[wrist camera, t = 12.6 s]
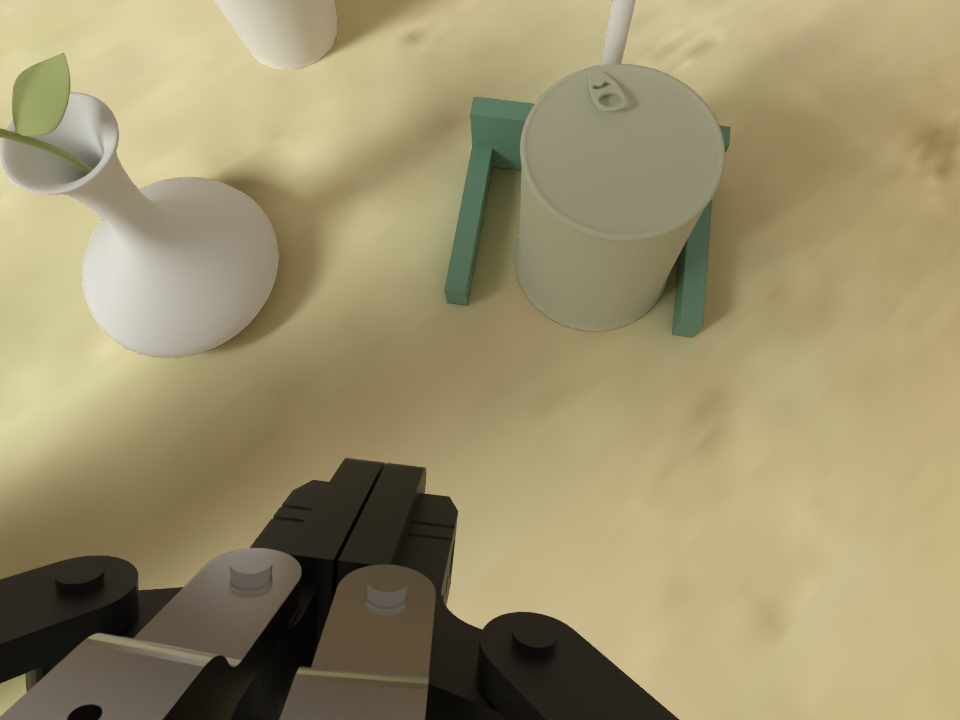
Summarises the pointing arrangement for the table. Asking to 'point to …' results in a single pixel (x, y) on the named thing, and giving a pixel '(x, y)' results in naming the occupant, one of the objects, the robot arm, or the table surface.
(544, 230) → the can
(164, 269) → the flower in vase
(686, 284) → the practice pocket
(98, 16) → the table surface
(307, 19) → the foam cup
